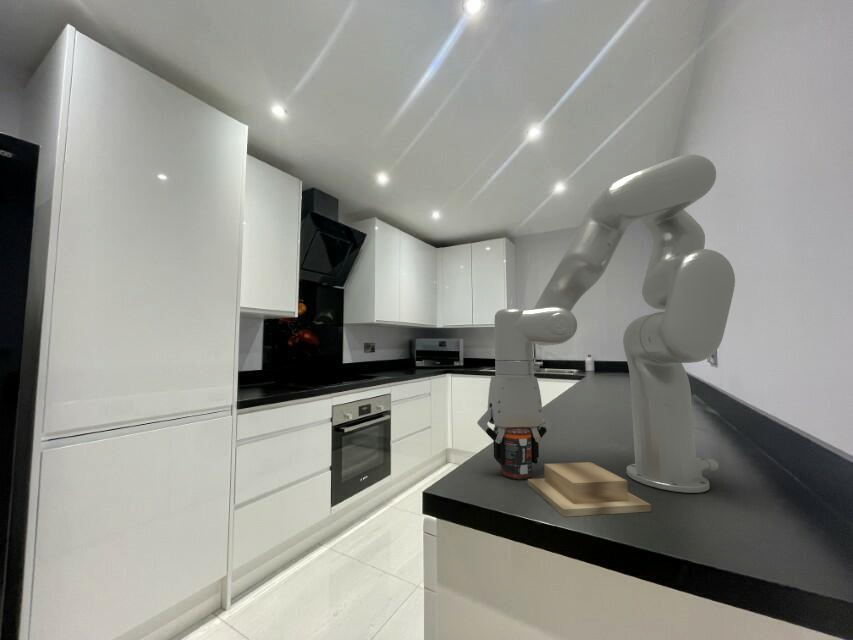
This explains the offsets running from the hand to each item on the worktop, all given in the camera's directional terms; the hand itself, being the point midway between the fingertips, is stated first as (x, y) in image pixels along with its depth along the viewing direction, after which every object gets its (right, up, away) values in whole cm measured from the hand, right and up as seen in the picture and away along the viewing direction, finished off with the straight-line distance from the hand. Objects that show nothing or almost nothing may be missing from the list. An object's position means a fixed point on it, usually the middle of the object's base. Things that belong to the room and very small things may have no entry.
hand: (516, 461), depth 64 cm
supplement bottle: (0, -3, 0) cm, 3 cm away
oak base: (+8, -1, -10) cm, 13 cm away
